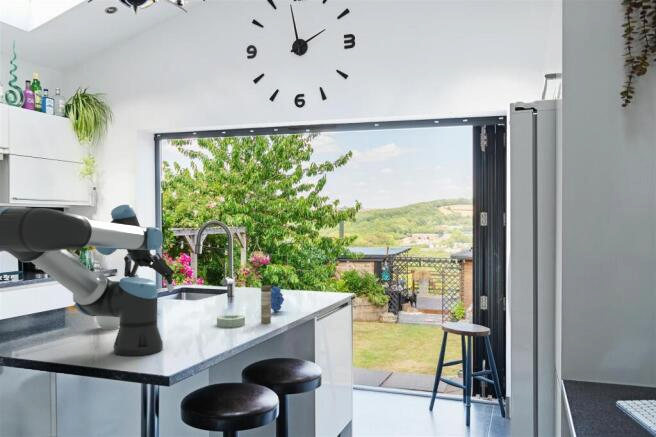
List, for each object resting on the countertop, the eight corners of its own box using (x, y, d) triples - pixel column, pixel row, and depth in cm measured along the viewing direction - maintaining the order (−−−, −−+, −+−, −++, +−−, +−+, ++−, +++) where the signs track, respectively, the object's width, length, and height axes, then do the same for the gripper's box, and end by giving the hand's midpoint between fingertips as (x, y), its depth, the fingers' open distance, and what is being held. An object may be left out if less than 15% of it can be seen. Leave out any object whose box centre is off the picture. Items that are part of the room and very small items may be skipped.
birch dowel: (268, 323, 224) (268, 287, 224) (259, 323, 225) (259, 286, 225) (272, 321, 228) (272, 285, 228) (263, 321, 229) (263, 285, 229)
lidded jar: (114, 331, 208) (114, 306, 208) (89, 330, 210) (89, 305, 210) (130, 325, 218) (130, 302, 218) (106, 324, 221) (106, 301, 220)
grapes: (278, 314, 244) (278, 287, 244) (265, 313, 247) (265, 287, 247) (289, 310, 255) (289, 284, 255) (276, 309, 258) (276, 284, 258)
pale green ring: (237, 327, 215) (237, 320, 215) (212, 326, 218) (212, 318, 218) (249, 322, 226) (249, 315, 226) (224, 321, 229) (224, 313, 229)
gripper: (171, 238, 198) (189, 284, 209) (113, 239, 205) (133, 283, 216) (161, 250, 192) (180, 296, 203) (101, 251, 199) (123, 296, 210)
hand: (156, 290), depth 209 cm, fingers open, 13 cm apart
